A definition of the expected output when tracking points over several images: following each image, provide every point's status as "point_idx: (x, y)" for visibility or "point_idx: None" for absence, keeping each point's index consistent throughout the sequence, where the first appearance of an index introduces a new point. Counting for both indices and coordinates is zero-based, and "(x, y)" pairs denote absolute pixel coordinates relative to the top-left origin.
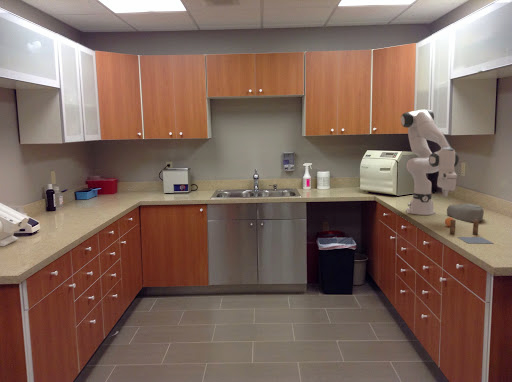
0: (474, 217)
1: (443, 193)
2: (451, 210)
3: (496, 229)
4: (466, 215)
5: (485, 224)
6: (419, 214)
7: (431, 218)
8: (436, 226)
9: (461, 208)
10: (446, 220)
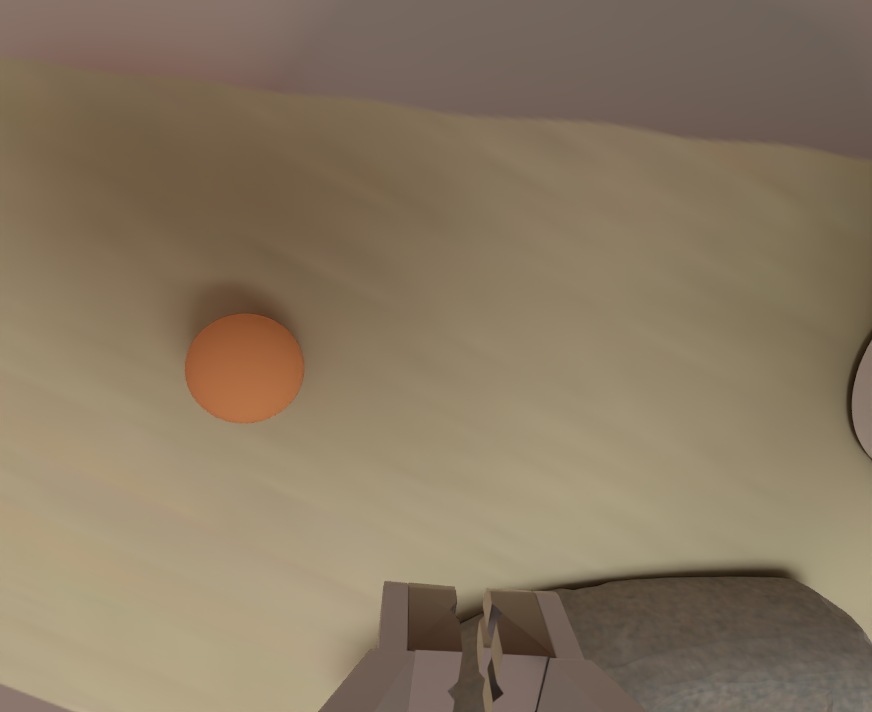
0: None
1: (514, 642)
2: (760, 628)
3: (156, 678)
4: None
5: None
6: None
7: (684, 356)
8: (261, 206)
9: None
10: (220, 324)
